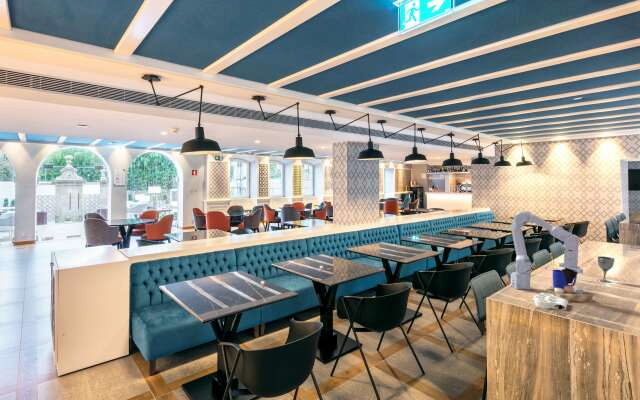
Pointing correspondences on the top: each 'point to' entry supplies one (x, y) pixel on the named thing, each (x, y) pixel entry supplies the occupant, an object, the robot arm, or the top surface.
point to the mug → (561, 279)
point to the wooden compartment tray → (571, 296)
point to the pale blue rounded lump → (578, 291)
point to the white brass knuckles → (549, 301)
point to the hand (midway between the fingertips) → (569, 283)
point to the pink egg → (568, 289)
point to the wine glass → (605, 266)
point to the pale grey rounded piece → (558, 290)
